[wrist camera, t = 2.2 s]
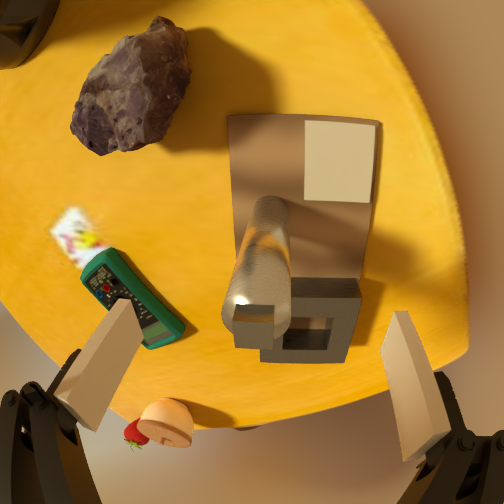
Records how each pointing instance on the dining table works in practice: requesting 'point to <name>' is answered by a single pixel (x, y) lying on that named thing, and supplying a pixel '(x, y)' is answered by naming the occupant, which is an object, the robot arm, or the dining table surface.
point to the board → (296, 197)
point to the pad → (338, 161)
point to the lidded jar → (167, 423)
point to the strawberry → (135, 435)
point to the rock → (133, 90)
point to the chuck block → (318, 305)
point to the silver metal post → (261, 278)
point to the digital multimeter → (131, 298)
